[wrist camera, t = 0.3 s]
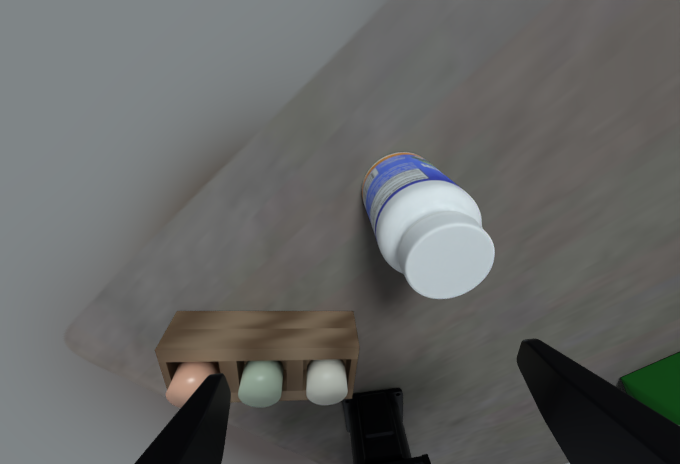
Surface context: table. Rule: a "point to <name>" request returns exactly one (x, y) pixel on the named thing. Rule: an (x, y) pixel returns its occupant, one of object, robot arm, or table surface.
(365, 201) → the pill bottle
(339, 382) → the white rounded piece
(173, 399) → the peach oval piece
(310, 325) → the wooden egg tray
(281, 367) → the sage egg
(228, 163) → the table surface
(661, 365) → the milk carton
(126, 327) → the table surface
